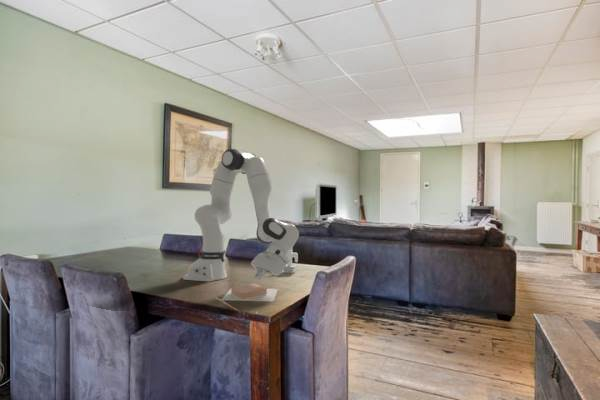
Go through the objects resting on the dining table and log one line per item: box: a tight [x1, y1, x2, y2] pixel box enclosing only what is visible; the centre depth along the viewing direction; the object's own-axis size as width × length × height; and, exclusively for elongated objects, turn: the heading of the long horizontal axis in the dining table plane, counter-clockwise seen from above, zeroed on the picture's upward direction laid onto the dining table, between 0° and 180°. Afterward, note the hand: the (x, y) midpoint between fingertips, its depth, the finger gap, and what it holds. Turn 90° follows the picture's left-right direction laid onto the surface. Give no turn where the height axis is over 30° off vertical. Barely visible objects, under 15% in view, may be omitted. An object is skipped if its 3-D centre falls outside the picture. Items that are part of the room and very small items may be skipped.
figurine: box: [283, 247, 299, 274], centre depth 190 cm, size 7×9×15 cm
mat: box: [220, 288, 279, 302], centre depth 146 cm, size 22×18×1 cm
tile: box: [230, 283, 268, 300], centre depth 145 cm, size 3×10×12 cm
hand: (256, 278), depth 147 cm, fingers closed
